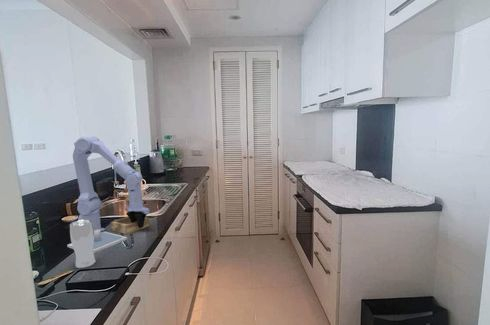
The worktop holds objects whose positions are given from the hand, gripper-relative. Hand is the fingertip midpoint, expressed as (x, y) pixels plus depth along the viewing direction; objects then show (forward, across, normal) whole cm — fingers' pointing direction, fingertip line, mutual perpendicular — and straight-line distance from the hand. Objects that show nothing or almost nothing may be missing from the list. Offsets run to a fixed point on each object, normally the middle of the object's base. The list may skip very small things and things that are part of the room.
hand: (138, 226), depth 127 cm
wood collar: (+1, -5, 0) cm, 6 cm away
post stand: (+1, -3, -18) cm, 18 cm away
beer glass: (+2, +11, -31) cm, 33 cm away
